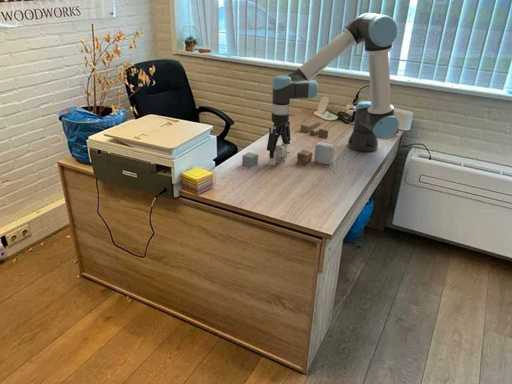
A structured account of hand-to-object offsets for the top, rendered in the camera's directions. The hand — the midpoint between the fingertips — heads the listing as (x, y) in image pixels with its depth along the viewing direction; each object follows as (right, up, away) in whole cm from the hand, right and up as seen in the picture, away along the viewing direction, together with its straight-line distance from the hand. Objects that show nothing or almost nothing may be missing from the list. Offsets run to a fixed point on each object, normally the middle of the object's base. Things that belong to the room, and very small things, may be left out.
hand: (278, 160), depth 197 cm
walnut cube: (+12, -1, +3) cm, 13 cm away
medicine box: (+21, -1, +4) cm, 22 cm away
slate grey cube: (-13, -2, -2) cm, 13 cm away
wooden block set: (+26, +19, +44) cm, 54 cm away
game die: (0, -1, 0) cm, 1 cm away
